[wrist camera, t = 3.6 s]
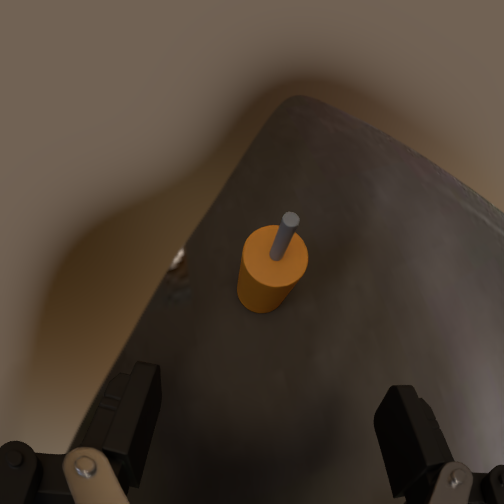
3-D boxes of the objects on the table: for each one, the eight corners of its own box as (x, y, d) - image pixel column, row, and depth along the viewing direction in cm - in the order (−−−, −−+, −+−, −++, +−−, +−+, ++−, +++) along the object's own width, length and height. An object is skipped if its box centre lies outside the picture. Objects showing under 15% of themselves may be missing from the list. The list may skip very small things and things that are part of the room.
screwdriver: (244, 318, 22) (262, 268, 12) (231, 273, 23) (238, 191, 13) (290, 306, 23) (344, 248, 13) (276, 262, 24) (314, 177, 14)
